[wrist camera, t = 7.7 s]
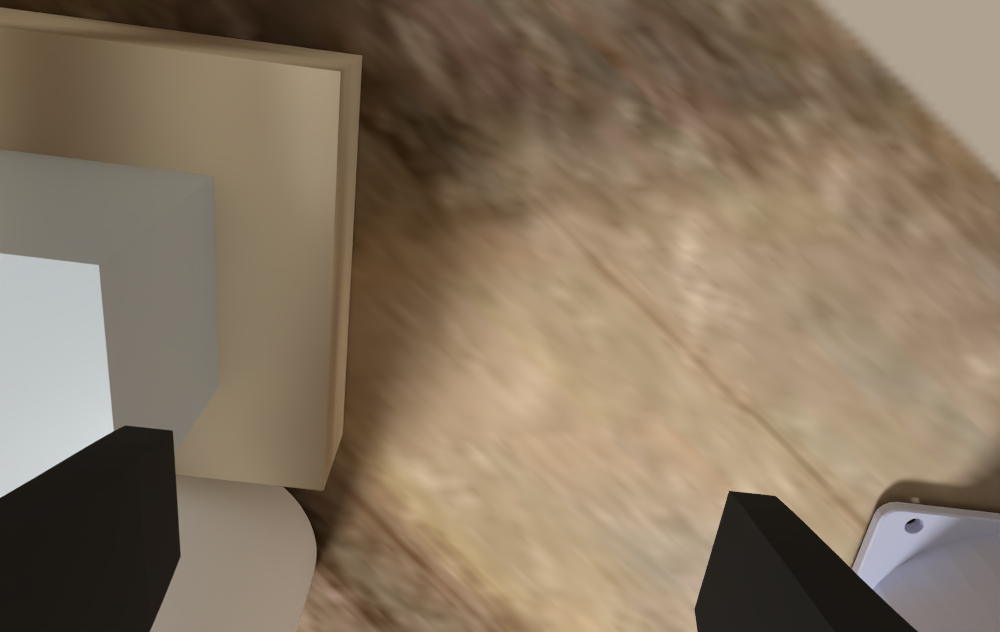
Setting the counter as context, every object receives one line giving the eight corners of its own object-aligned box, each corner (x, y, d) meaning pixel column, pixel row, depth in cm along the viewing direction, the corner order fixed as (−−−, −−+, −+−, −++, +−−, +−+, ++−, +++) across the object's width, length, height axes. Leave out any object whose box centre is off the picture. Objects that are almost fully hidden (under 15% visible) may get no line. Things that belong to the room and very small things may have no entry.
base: (362, 55, 18) (340, 71, 15) (342, 434, 22) (323, 490, 20) (-101, -7, 17) (-194, 1, 15) (-31, 392, 21) (-95, 445, 19)
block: (213, 176, 16) (98, 265, 12) (218, 387, 18) (123, 531, 14) (-38, 144, 16) (-252, 222, 12) (-4, 361, 18) (-174, 500, 14)
